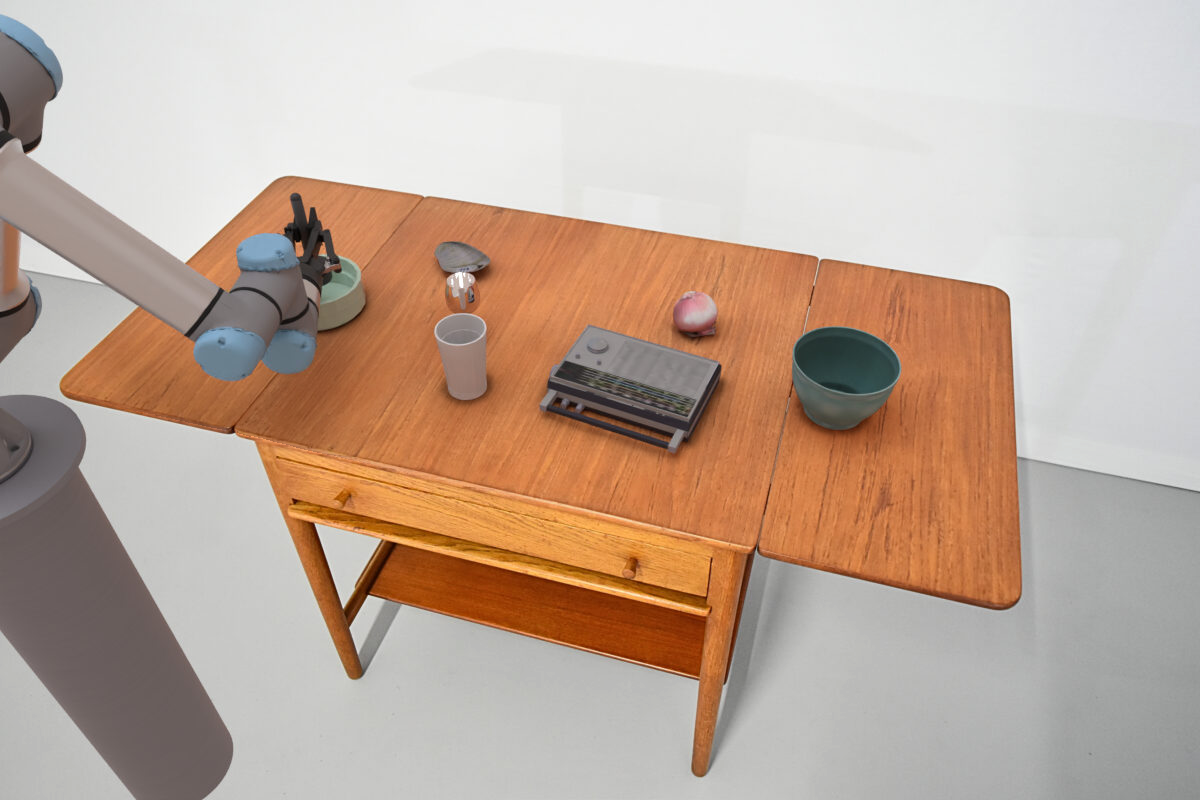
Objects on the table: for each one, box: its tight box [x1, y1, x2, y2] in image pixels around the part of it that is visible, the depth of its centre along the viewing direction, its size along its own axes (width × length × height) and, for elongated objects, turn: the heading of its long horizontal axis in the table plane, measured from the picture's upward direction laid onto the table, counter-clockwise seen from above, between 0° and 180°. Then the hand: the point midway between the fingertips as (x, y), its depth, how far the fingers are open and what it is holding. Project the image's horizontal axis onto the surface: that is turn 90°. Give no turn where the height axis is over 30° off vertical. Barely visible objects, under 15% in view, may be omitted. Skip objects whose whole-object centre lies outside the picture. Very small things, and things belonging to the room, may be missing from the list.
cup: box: [433, 313, 488, 401], centre depth 142 cm, size 8×8×12 cm
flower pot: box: [791, 325, 902, 431], centre depth 139 cm, size 16×16×11 cm
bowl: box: [317, 253, 367, 332], centre depth 159 cm, size 15×15×6 cm
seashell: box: [433, 240, 492, 274], centre depth 168 cm, size 12×8×5 cm
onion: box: [672, 290, 719, 338], centre depth 155 cm, size 8×8×7 cm
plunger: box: [289, 192, 333, 286], centre depth 151 cm, size 6×6×17 cm
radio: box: [538, 323, 722, 454], centre depth 143 cm, size 24×5×20 cm
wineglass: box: [444, 272, 481, 314], centre depth 151 cm, size 6×6×12 cm
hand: (306, 214), depth 155 cm, fingers closed on plunger, 2 cm apart
